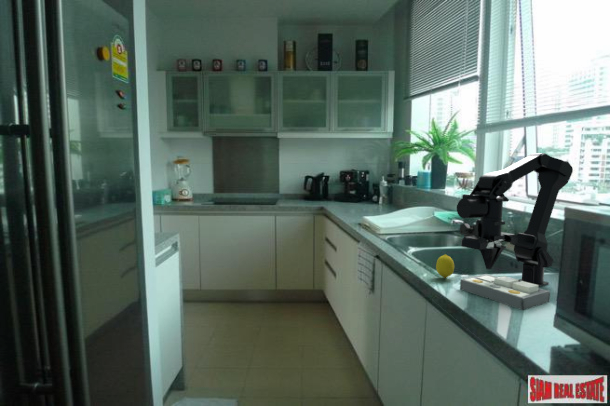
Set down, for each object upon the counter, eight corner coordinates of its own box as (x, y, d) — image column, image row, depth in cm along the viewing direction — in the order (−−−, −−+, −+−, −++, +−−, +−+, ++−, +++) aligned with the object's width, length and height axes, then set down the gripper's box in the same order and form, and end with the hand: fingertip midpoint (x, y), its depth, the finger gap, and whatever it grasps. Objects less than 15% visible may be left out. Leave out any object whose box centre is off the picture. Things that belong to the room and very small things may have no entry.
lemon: (449, 275, 126) (450, 252, 125) (456, 280, 121) (457, 256, 120) (433, 276, 126) (433, 252, 125) (439, 280, 121) (440, 256, 120)
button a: (486, 283, 115) (486, 275, 115) (499, 287, 111) (500, 279, 111) (477, 285, 113) (477, 277, 113) (490, 289, 109) (490, 281, 109)
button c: (522, 289, 106) (522, 280, 105) (538, 294, 102) (538, 285, 102) (512, 292, 103) (512, 283, 103) (528, 296, 100) (528, 287, 99)
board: (485, 283, 118) (486, 273, 118) (549, 302, 101) (550, 290, 101) (460, 289, 112) (460, 278, 112) (522, 310, 96) (523, 297, 95)
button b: (503, 284, 110) (503, 276, 110) (518, 288, 107) (518, 279, 106) (494, 286, 108) (494, 278, 108) (508, 291, 104) (509, 282, 104)
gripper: (486, 212, 122) (484, 259, 123) (446, 215, 113) (444, 266, 114) (520, 216, 112) (517, 267, 114) (479, 220, 103) (477, 275, 105)
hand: (488, 269), depth 112 cm, fingers closed
